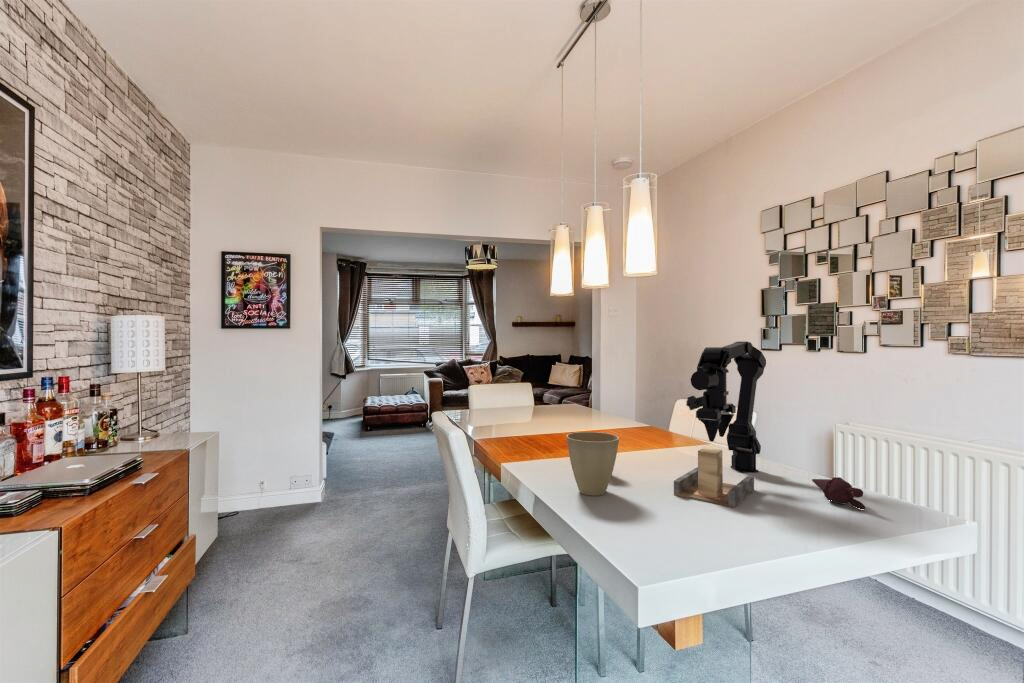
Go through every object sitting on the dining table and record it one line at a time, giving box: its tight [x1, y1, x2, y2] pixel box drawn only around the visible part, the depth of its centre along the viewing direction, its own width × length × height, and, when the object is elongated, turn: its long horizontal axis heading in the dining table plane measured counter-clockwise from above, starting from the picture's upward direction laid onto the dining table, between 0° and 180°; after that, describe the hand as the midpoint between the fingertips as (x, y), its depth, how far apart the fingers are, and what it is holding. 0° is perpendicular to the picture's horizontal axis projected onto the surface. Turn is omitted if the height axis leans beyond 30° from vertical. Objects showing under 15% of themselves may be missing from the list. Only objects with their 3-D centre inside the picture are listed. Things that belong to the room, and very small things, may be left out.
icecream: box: [811, 476, 866, 510], centre depth 125 cm, size 7×7×15 cm
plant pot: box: [566, 431, 620, 496], centre depth 135 cm, size 15×15×16 cm
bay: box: [673, 466, 755, 509], centre depth 134 cm, size 19×16×4 cm
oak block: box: [697, 447, 724, 497], centre depth 131 cm, size 5×5×12 cm
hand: (716, 438), depth 144 cm, fingers open, 9 cm apart
